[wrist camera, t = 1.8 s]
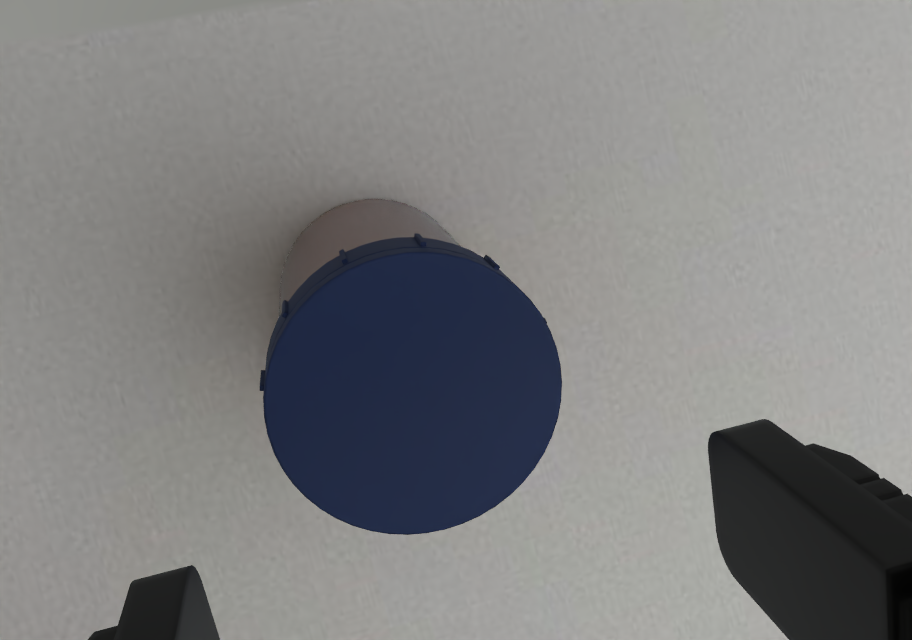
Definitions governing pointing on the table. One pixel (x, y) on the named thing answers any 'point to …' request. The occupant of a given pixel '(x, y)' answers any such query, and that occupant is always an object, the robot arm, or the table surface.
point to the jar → (352, 236)
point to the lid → (409, 386)
